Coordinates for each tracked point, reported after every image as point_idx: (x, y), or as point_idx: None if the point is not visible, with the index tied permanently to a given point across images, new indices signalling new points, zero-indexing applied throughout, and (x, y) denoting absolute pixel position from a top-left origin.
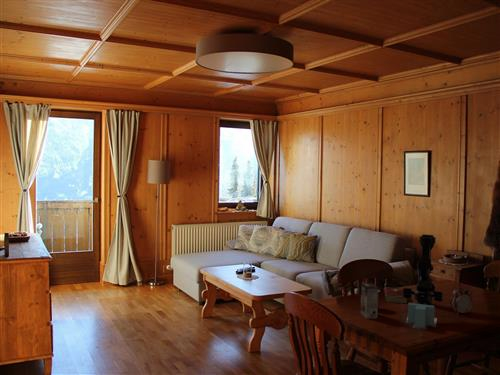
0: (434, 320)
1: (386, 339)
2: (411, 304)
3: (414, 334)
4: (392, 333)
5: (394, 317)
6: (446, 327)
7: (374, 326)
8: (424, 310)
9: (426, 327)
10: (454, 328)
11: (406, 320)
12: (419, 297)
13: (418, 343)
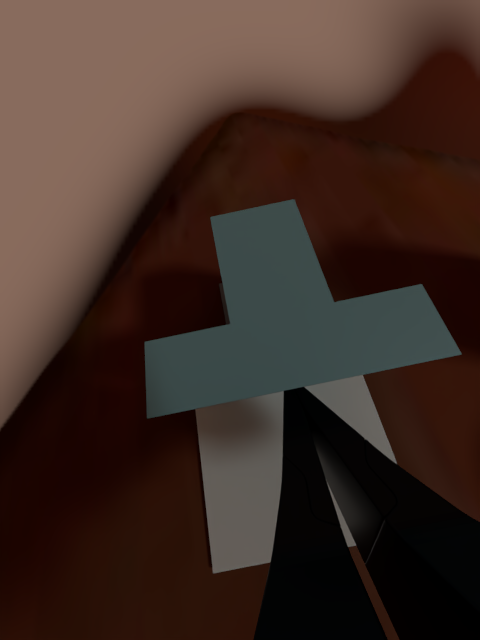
0: (217, 486)
1: (306, 126)
2: (390, 299)
3: None
4: (318, 175)
5: (448, 392)
6: (141, 390)
7: (417, 197)
8: (218, 222)
9: (227, 310)
10: (102, 400)
11: None
12: (443, 538)
13: (212, 152)
